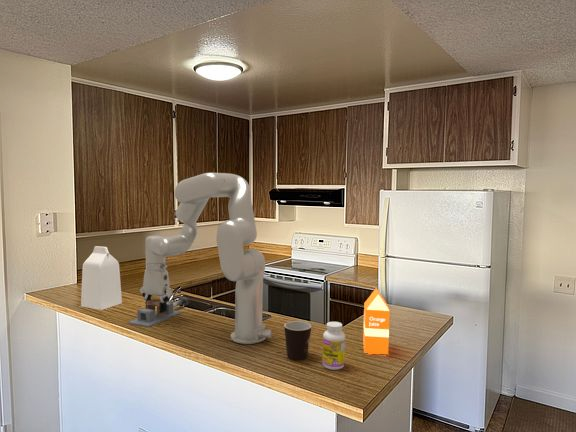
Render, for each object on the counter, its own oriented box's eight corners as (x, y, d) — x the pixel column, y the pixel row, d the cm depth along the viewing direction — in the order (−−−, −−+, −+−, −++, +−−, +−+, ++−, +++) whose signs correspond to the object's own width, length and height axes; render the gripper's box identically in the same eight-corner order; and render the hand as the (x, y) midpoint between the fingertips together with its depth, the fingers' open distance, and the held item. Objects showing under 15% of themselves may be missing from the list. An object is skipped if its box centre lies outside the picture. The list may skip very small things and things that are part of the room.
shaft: (188, 304, 181) (188, 297, 181) (165, 313, 167) (165, 306, 167) (181, 302, 183) (181, 296, 183) (158, 312, 169) (157, 305, 169)
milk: (80, 306, 179) (79, 247, 177) (102, 299, 190) (101, 244, 188) (101, 310, 174) (100, 249, 173) (121, 303, 185) (121, 246, 183)
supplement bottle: (318, 366, 122) (319, 324, 121) (328, 359, 128) (329, 318, 127) (338, 372, 119) (339, 329, 118) (348, 364, 124) (349, 323, 123)
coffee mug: (300, 364, 124) (301, 332, 123) (278, 357, 129) (278, 326, 128) (321, 352, 133) (321, 322, 132) (299, 346, 138) (300, 317, 137)
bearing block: (181, 312, 172) (181, 301, 172) (148, 327, 154) (148, 315, 154) (162, 309, 176) (162, 298, 176) (127, 323, 158) (127, 311, 157)
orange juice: (363, 354, 132) (365, 293, 131) (362, 343, 141) (364, 286, 140) (388, 355, 131) (390, 294, 130) (385, 345, 140) (387, 287, 139)
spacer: (165, 313, 165) (165, 300, 165) (159, 316, 162) (158, 303, 161) (153, 311, 168) (153, 298, 168) (146, 314, 164) (146, 301, 164)
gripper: (179, 266, 164) (179, 310, 165) (145, 263, 170) (145, 305, 172) (166, 270, 157) (167, 316, 158) (132, 266, 163) (132, 310, 165)
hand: (156, 310), depth 165 cm, fingers open, 6 cm apart
